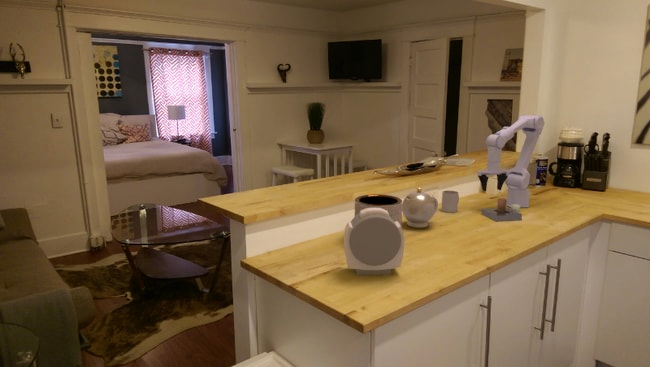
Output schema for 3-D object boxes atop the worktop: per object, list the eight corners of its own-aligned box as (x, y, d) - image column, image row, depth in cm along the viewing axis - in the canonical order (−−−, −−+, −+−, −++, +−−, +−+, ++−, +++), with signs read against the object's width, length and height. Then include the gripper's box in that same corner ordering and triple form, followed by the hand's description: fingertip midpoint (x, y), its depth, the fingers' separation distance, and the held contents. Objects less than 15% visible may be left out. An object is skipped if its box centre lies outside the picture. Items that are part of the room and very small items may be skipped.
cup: (438, 210, 207) (439, 192, 205) (451, 207, 213) (452, 188, 211) (451, 213, 201) (452, 194, 199) (464, 210, 207) (465, 191, 205)
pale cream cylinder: (516, 212, 204) (517, 203, 203) (521, 214, 200) (521, 205, 200) (509, 212, 203) (510, 204, 202) (513, 214, 200) (514, 206, 199)
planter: (363, 250, 156) (364, 207, 153) (347, 234, 173) (348, 195, 170) (409, 245, 161) (411, 203, 158) (389, 230, 178) (390, 192, 174)
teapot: (414, 233, 174) (416, 192, 171) (393, 224, 186) (394, 186, 182) (448, 226, 183) (450, 187, 180) (425, 218, 195) (427, 181, 191)
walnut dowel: (501, 215, 199) (502, 198, 197) (507, 217, 195) (508, 200, 194) (494, 216, 197) (496, 198, 196) (500, 218, 194) (502, 200, 192)
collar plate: (505, 212, 203) (506, 207, 203) (521, 220, 192) (522, 214, 191) (481, 213, 201) (482, 208, 201) (496, 221, 190) (496, 215, 189)
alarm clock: (398, 265, 143) (401, 205, 138) (404, 276, 134) (406, 212, 130) (343, 266, 142) (343, 205, 138) (345, 277, 134) (346, 213, 130)
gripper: (503, 159, 206) (500, 187, 209) (474, 160, 204) (472, 189, 207) (512, 161, 200) (509, 190, 203) (483, 162, 197) (480, 192, 200)
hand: (491, 190), depth 204 cm, fingers open, 7 cm apart
